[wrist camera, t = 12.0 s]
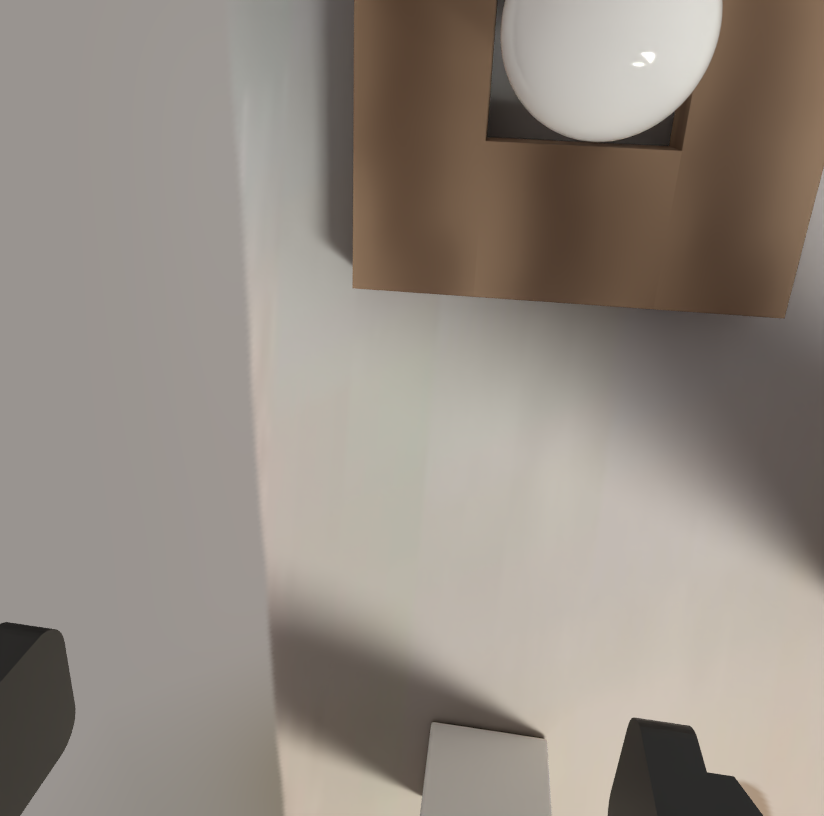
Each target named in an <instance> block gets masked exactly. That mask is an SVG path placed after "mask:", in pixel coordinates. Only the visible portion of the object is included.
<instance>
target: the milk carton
mask: <svg viewBox="0 0 824 816" xmlns="http://www.w3.org/2000/svg"><path fill="white" fill-rule="evenodd" d="M420 816H552V812H551V795H550V778H549V761H548V744H547V740H546V739H541V738H535V737H529V736H522V735H516V734H509V733H503V732H496V731H490V730H483V729H476V728H470V727H463V726H457V725H450V724H443V723H436V722H432V724H431V729H430V737H429V745H428V753H427V762H426V770H425V778H424V786H423V794H422V803H421V811H420Z"/></svg>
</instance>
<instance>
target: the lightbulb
mask: <svg viewBox="0 0 824 816" xmlns="http://www.w3.org/2000/svg"><path fill="white" fill-rule="evenodd" d="M722 13H723V0H505V3H504V8H503V13H502V20H501V34H500V35H501V52H502V58H503V63H504V67H505V71H506V74H507V77H508V79H509V82H510V84H511V86H512V88H513V90H514V92H515V94H516V96H517V97H518V99H519V100H520V102H521V103H522V104H523V106H524V107H525V108H526V109H527V111H528V112H529V113H530V114H531V115H532V116H533V117H534V118H535V119H537V120H538V121H539V122H540V123H542V124H543V125H544V126H546V127H547V128H549V129H551V130H553V131H555V132H557V133H559V134H561V135H563V136H566V137H569V138H572V139H576V140H581V141H589V142H608V141H615V140H620V139H625V138H628V137H631V136H634V135H637V134H639V133H642V132H644V131H646V130H648V129H650V128H652V127H653V126H655V125H657V124H658V123H660V122H661V121H663V120H664V119H666V118H667V117H668V116H669V115H671V114H672V113H673V112H674V111H675V110H676V109H677V108H679V107H680V106H681V105H682V104H683V103H684V101H685V100H686V99H687V98H688V97H689V96H690V95H691V93H692V92H693V91H694V89H695V88H696V87H697V85H698V84H699V82H700V81H701V79H702V77H703V76H704V74H705V72H706V70H707V68H708V66H709V64H710V62H711V59H712V57H713V55H714V52H715V49H716V46H717V43H718V39H719V35H720V30H721V24H722Z"/></svg>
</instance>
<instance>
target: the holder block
mask: <svg viewBox="0 0 824 816" xmlns="http://www.w3.org/2000/svg"><path fill="white" fill-rule="evenodd" d="M496 13H497V0H354V118H353V288H357V289H372V290H386V291H400V292H414V293H429V294H443V295H457V296H471V297H486V298H500V299H514V300H528V301H543V302H557V303H571V304H585V305H600V306H614V307H628V308H642V309H657V310H671V311H685V312H699V313H714V314H728V315H742V316H756V317H771V318H785V314H786V310H787V306H788V302H789V298H790V295H791V291H792V287H793V283H794V279H795V275H796V271H797V268H798V264H799V260H800V256H801V252H802V248H803V244H804V241H805V237H806V233H807V229H808V225H809V221H810V217H811V214H812V210H813V206H814V202H815V198H816V194H817V190H818V187H819V183H820V179H821V175H822V171H823V167H824V0H723V13H722V24H721V30H720V35H719V39H718V43H717V46H716V49H715V52H714V55H713V57H712V59H711V62H710V64H709V66H708V68H707V70H706V72H705V74H704V76H703V77H702V79H701V81H700V82H699V84H698V85H697V87H696V88H695V89H694V91H693V92H692V93H691V95H690V96H689V97H688V98H687V99H686V100H685V101H684V103H683V104H682V105H681V106H680V107H679V108H677V109H676V110H675V114H674V120H673V125H672V131H671V137H670V143H669V146H657V145H637V144H617V143H596V142H576V141H556V140H535V139H515V138H494V137H487V131H488V118H489V105H490V92H491V79H492V66H493V53H494V40H495V26H496Z"/></svg>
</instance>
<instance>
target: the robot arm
mask: <svg viewBox="0 0 824 816" xmlns="http://www.w3.org/2000/svg"><path fill="white" fill-rule="evenodd" d="M74 720H75V702H74V697H73V691H72V685H71V678H70V673H69V666H68V661H67V654H66V648H65V642H64V638H63V636H62V634H61V633H60V631H58V630H55V629H49V628H43V627H36V626H29V625H22V624H16V623H8V622H5V623H1V624H0V816H20V815H21V814H22V812H23V811H24V809H25V808H26V806H27V805H28V803H29V802H30V800H31V799H32V797H33V796H34V794H35V793H36V791H37V790H38V789H39V787H40V786H41V784H42V783H43V781H44V780H45V778H46V777H47V775H48V774H49V772H50V771H51V769H52V768H53V767H54V765H55V764H56V762H57V761H58V759H59V758H60V756H61V754H62V753H63V751H64V750H65V748H66V746H67V743H68V741H69V739H70V736H71V733H72V729H73V725H74ZM608 816H763V815H762V813H761V812H760V811H759V809H758V808H757V807H756V805H755V804H754V803H753V801H752V800H751V799H750V797H749V796H748V795H747V793H746V792H745V791H744V789H743V788H742V787H741V785H740V784H739V783H738V781H737V780H736V779H735V777H733V776H727V775H720V774H714V773H707V771H706V768H705V764H704V761H703V757H702V753H701V750H700V746H699V743H698V739H697V736H696V734H695V732H694V730H693V728H692V727H691V726H687V725H680V724H674V723H667V722H660V721H653V720H647V719H640V718H632V719H631V720H630V722H629V725H628V728H627V732H626V735H625V739H624V743H623V747H622V751H621V755H620V759H619V763H618V766H617V770H616V774H615V778H614V782H613V786H612V790H611V794H610V799H609V807H608Z"/></svg>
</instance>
